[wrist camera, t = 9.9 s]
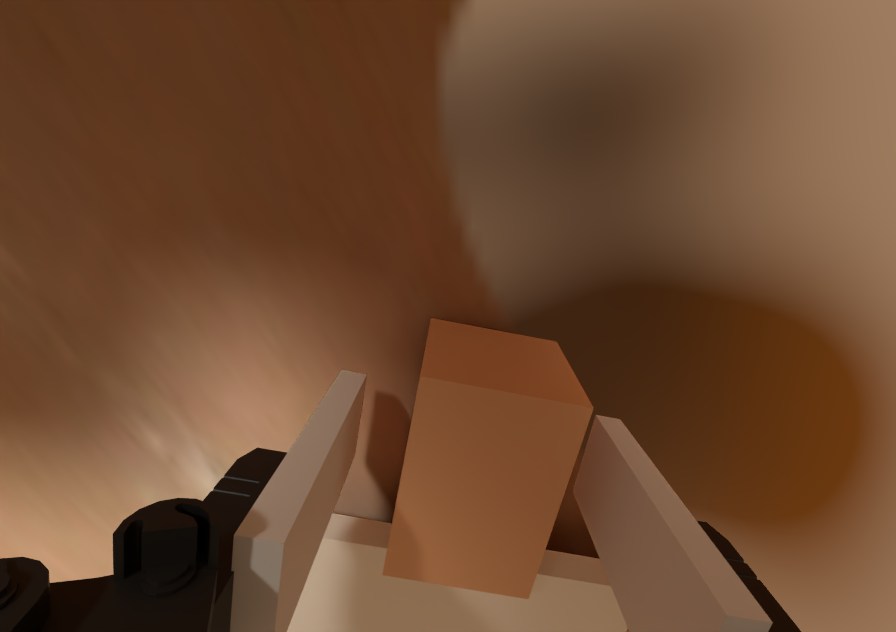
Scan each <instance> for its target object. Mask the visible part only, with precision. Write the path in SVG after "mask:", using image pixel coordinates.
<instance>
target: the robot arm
mask: <svg viewBox="0 0 896 632" xmlns="http://www.w3.org/2000/svg"><path fill="white" fill-rule="evenodd" d="M366 377H367V374H363V373H357V372H352V371H346V370H341V371H340V373H339V374H338V376H337V378H336V379H335V381H334V382H333V384H332V385H331V387H330V388H329V390H328V391H327V393H326V394H325V396H324V397H323V399H322V401H321V402H320V404H319V405H318V407H317V408H316V410H315V411H314V413H313V414H312V416H311V417H310V419H309V420H308V422H307V424H306V425H305V427H304V428H303V430H302V431H301V433H300V434H299V436H298V437H297V439H296V440H295V442H294V444H293V445H292V447H291V448H290V450H289V451H288V453H286V452H280V451H274V450H268V449H262V448H256V449H254V450H253V451H251V452H249V453H247V454H246V455H244V456H242V457H240V458H239V459H237V460H236V462H235V463H234V464H233V465H232V467H231V468H230V469H229V470H228V471H227V473H226V474H225V476H224V478H222V479H221V480H220V481H219V482H218V483H217V485H216V486H215V487H214V490H213V491H211V492H210V493H209V494H208V496H207V497H206V498H205V499H204V500H203V501H201V500H198V499H189V498H175V499H170V500H164V501H159V502H156V503H154V504H151V505H149V506H146V507H144V508H141V509H139V510H138V511H136V512H135V513H133V514H132V515H130V516H129V517H128V518H126V519H125V520H123V522H122V523H121V524H120V525H119V527H118V528H117V529H116V531H115V532H114V533H113V568H114V575H109V576H104V577H99V578H91V579H82V580H73V581H64V582H56V583H49V570H48V569H47V568H46V567H45V566H44V565H43V564H42V563H41V562H40V561H38V560H34V559H30V558H25V557H16V558H2V559H0V632H287V630H288V627H289V625H290V622H291V620H292V617H293V614H294V612H295V609H296V607H297V604H298V601H299V599H300V596H301V593H302V591H303V588H304V586H305V583H306V580H307V578H308V575H309V573H310V570H311V567H312V565H313V562H314V560H315V557H316V554H317V552H318V549H319V547H320V544H321V541H322V539H323V536H324V534H325V531H326V528H327V526H328V523H329V521H330V518H331V515H332V513H333V510H334V508H335V505H336V502H337V500H338V497H339V495H340V492H341V489H342V487H343V484H344V482H345V479H346V476H347V474H348V471H349V469H350V466H351V463H352V461H353V458H354V456H355V451H356V445H357V438H358V431H359V424H360V418H361V411H362V404H363V398H364V391H365V384H366ZM573 494H574V496H575V499H576V501H577V504H578V506H579V509H580V511H581V514H582V516H583V519H584V521H585V523H586V526H587V528H588V531H589V533H590V536H591V538H592V541H593V543H594V546H595V548H596V551H597V553H598V556H599V558H600V560H601V563H602V565H603V568H604V570H605V573H606V575H607V578H608V580H609V583H610V585H611V588H612V590H613V593H614V595H615V598H616V600H617V602H618V605H619V607H620V610H621V612H622V615H623V617H624V620H625V622H626V625H627V627H628V630H629V632H801V631H800V630H799V628H798V627H797V626H796V625H795V623H794V622H793V621H792V620H791V618H790V617H789V616H788V615H787V613H786V612H785V611H784V610H783V608H782V607H781V606H780V605H779V603H778V602H777V601H776V600H775V598H774V597H773V596H772V595H771V594H770V592H769V591H768V590H767V588H766V587H765V586H764V585H763V583H762V582H761V581H760V580H757V576H756V575H755V573H754V572H753V571H752V570H751V568H750V567H749V566H748V565H747V564H745V563H744V562H743V558H742V557H741V556H740V555H739V553H738V552H737V551H736V550H735V548H734V547H733V546H732V545H731V543H730V542H729V541H728V540H727V539H726V538H724V537H723V536H722V535H721V534H720V533H719V532H717V531H716V530H715V529H714V528H713V527H711V526H710V525H709V524H708V523H707V522H701V521H696V520H695V518H694V517H693V516H692V514H691V513H690V512H689V510H688V509H687V508H686V506H685V505H684V504H683V502H682V501H681V500H680V498H679V497H678V496H677V494H676V493H675V492H674V490H673V489H672V488H671V486H670V485H669V484H668V482H667V481H666V480H665V478H664V477H663V476H662V475H661V473H660V472H659V470H658V469H657V468H656V467H655V465H654V464H653V463H652V461H651V460H650V458H649V457H648V456H647V454H646V453H645V452H644V451H643V449H642V448H641V447H640V445H639V444H638V443H637V441H636V440H635V439H634V437H633V436H632V434H631V433H630V432H629V431H628V429H627V428H626V427H625V425H624V424H623V423H622V421H621V420H620V419H616V418H610V417H605V416H599V415H595V419H594V422H593V425H592V429H591V432H590V435H589V438H588V442H587V445H586V448H585V451H584V455H583V458H582V461H581V465H580V468H579V471H578V474H577V478H576V481H575V484H574V488H573Z"/></svg>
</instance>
